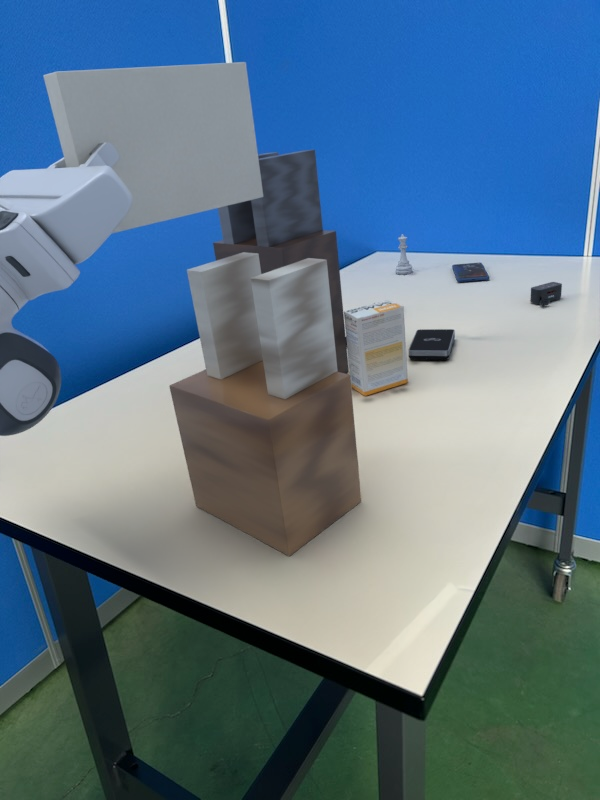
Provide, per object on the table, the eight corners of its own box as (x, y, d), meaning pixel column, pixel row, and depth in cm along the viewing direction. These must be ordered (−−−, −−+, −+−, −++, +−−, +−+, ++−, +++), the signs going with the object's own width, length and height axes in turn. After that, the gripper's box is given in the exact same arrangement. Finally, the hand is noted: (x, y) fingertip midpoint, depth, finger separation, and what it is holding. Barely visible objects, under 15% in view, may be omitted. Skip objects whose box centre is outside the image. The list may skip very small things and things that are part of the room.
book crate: (289, 556, 64) (248, 294, 53) (195, 506, 75) (144, 278, 63) (361, 501, 72) (340, 260, 60) (267, 462, 82) (233, 251, 71)
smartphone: (457, 279, 148) (451, 264, 162) (457, 282, 149) (451, 267, 162) (490, 276, 147) (481, 261, 160) (490, 280, 147) (481, 265, 161)
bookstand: (301, 398, 100) (270, 159, 85) (236, 378, 110) (199, 163, 95) (348, 372, 107) (328, 148, 92) (283, 356, 118) (256, 153, 103)
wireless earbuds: (525, 304, 129) (526, 288, 128) (552, 296, 131) (553, 281, 130) (542, 308, 125) (543, 293, 124) (569, 301, 127) (570, 285, 126)
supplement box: (393, 374, 104) (388, 298, 98) (408, 383, 100) (405, 305, 94) (349, 387, 101) (342, 310, 96) (363, 397, 97) (357, 317, 92)
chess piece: (414, 270, 165) (412, 232, 160) (410, 274, 161) (409, 235, 157) (397, 270, 166) (395, 232, 162) (394, 275, 163) (391, 236, 158)
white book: (96, 237, 59) (55, 71, 53) (83, 236, 61) (42, 75, 55) (263, 197, 73) (246, 61, 67) (249, 196, 74) (230, 65, 68)
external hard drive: (455, 339, 115) (455, 329, 114) (449, 362, 106) (448, 351, 105) (417, 339, 118) (417, 329, 117) (408, 361, 108) (407, 350, 107)
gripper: (-19, 268, 63) (71, 178, 68) (79, 289, 50) (183, 176, 54) (-72, 219, 59) (28, 127, 63) (21, 228, 45) (139, 110, 50)
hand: (100, 149), depth 59 cm, fingers closed on white book, 2 cm apart
